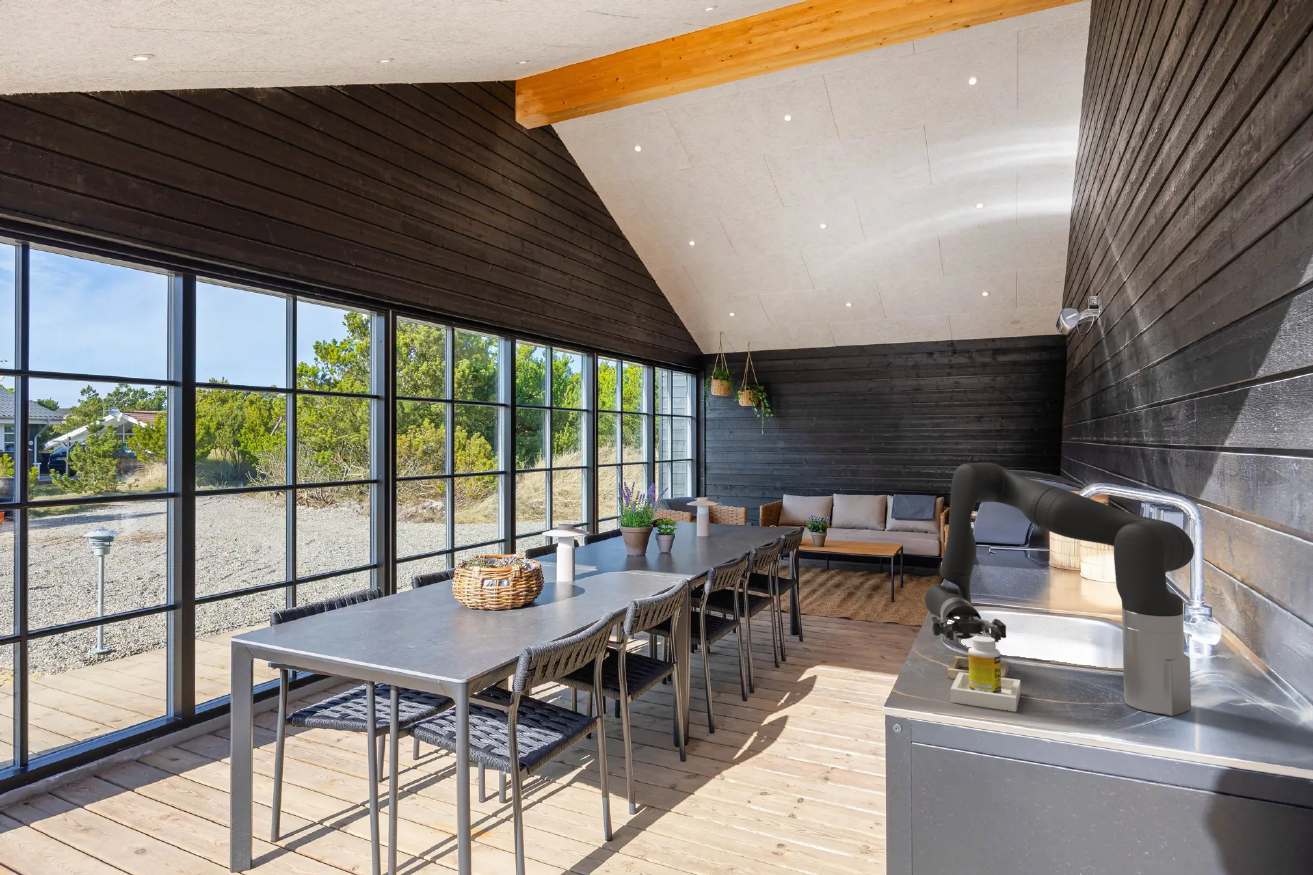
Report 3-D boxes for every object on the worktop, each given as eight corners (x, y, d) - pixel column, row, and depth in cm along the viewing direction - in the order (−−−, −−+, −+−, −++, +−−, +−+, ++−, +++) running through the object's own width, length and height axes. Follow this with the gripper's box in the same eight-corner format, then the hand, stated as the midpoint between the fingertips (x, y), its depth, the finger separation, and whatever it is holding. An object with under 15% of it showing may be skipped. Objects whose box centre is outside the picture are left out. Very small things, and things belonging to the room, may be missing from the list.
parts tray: (1020, 692, 142) (1020, 679, 142) (1016, 711, 132) (1015, 697, 132) (959, 684, 147) (959, 671, 147) (950, 702, 138) (950, 688, 138)
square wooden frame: (1008, 670, 155) (1007, 662, 155) (1003, 685, 146) (1003, 676, 146) (955, 664, 160) (955, 655, 160) (947, 678, 151) (947, 669, 151)
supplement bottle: (999, 699, 136) (997, 644, 136) (967, 695, 139) (965, 640, 139) (1003, 690, 141) (1001, 636, 141) (972, 686, 144) (970, 633, 144)
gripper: (926, 599, 167) (936, 616, 152) (993, 601, 164) (1011, 619, 148) (926, 632, 167) (937, 653, 152) (994, 635, 164) (1012, 656, 148)
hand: (974, 636), depth 150 cm, fingers open, 8 cm apart
